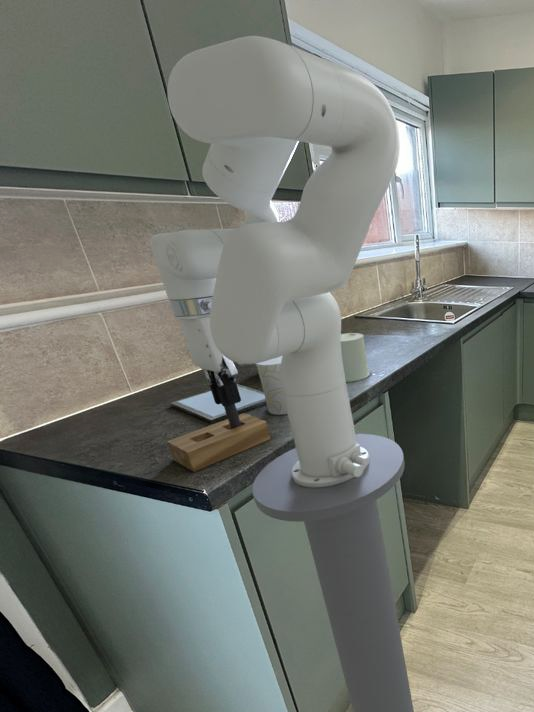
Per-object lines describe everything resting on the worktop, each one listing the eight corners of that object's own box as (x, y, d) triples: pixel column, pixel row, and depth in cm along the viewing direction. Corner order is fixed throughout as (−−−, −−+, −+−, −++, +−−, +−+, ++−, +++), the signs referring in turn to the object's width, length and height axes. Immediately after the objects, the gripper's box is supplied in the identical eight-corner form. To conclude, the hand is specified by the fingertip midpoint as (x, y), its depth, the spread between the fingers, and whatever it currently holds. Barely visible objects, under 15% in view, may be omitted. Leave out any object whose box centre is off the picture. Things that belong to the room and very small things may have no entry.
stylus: (245, 431, 82) (227, 374, 78) (235, 435, 81) (217, 377, 77) (240, 430, 83) (223, 373, 79) (231, 433, 82) (212, 376, 77)
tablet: (277, 399, 104) (276, 395, 103) (211, 423, 92) (210, 419, 91) (235, 386, 114) (234, 382, 113) (171, 406, 102) (170, 402, 101)
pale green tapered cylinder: (376, 371, 121) (369, 331, 117) (357, 383, 113) (350, 340, 109) (348, 370, 124) (341, 330, 119) (328, 380, 115) (320, 339, 111)
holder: (270, 438, 84) (266, 421, 83) (194, 472, 73) (187, 452, 72) (249, 429, 88) (244, 412, 87) (173, 460, 77) (166, 441, 76)
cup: (260, 413, 96) (247, 364, 92) (286, 399, 104) (274, 353, 99) (290, 415, 94) (278, 365, 90) (314, 401, 102) (303, 354, 97)
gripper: (244, 305, 72) (270, 402, 79) (201, 301, 80) (228, 389, 87) (195, 314, 66) (228, 418, 73) (154, 308, 74) (187, 402, 81)
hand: (228, 402), depth 80 cm, fingers closed on stylus, 1 cm apart
